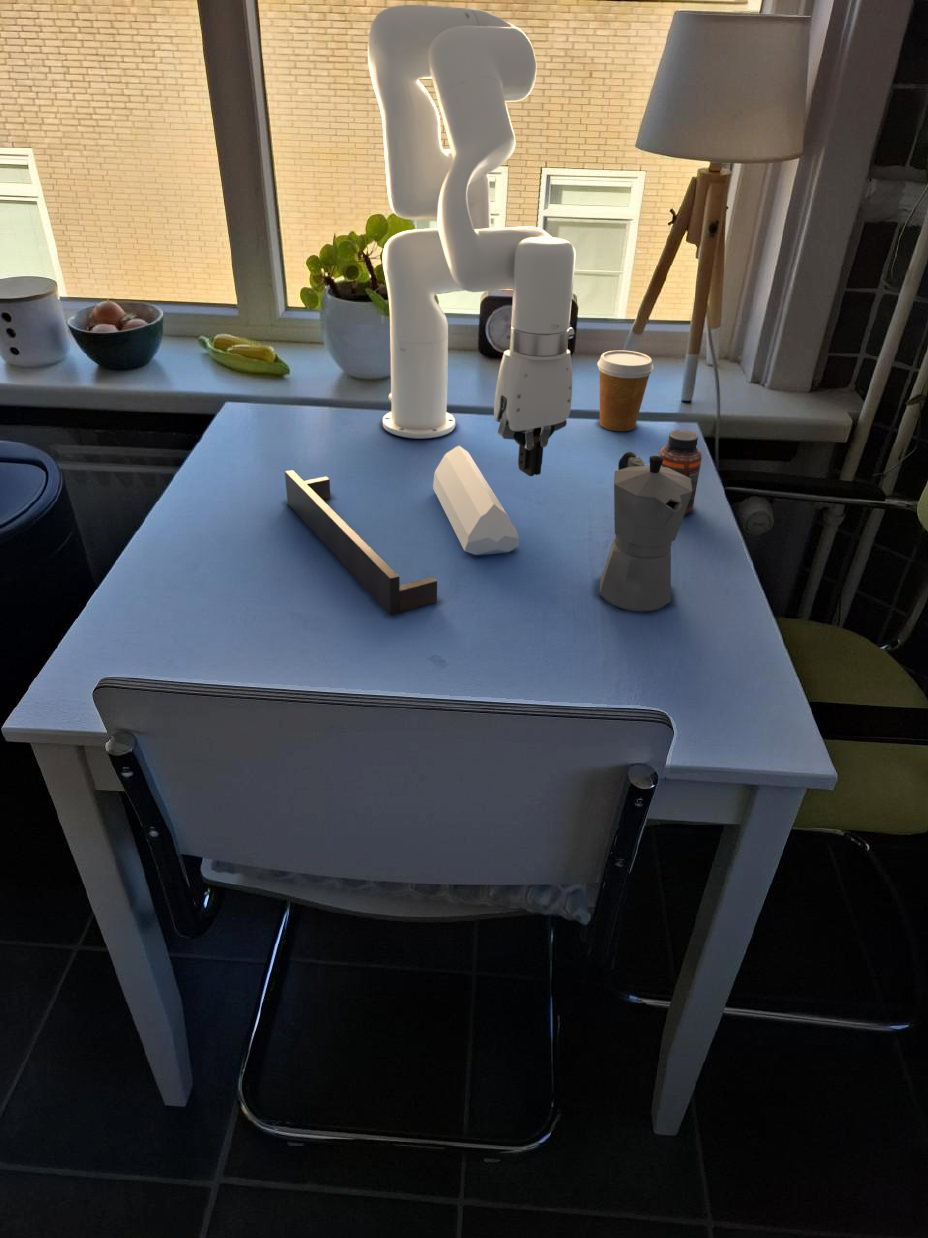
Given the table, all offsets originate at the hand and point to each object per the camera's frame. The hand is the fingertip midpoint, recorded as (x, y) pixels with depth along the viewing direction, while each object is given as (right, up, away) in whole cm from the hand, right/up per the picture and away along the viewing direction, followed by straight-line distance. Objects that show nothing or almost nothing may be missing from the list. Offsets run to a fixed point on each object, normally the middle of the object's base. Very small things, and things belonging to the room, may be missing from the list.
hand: (529, 471), depth 124 cm
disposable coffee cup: (+18, +14, +32) cm, 39 cm away
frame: (-24, -12, -9) cm, 28 cm away
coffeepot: (+12, -17, -15) cm, 25 cm away
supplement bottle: (+21, -5, +5) cm, 22 cm away
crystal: (-8, -7, -1) cm, 11 cm away
